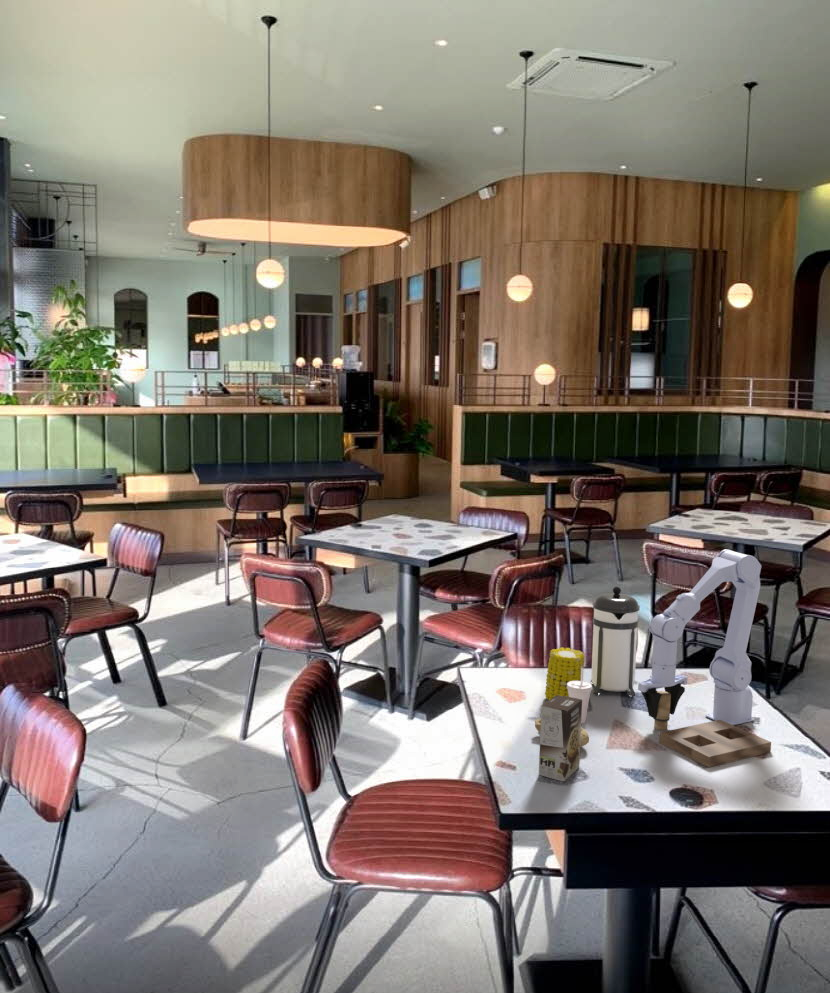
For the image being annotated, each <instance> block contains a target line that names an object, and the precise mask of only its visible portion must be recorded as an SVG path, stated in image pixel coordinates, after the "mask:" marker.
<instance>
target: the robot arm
mask: <svg viewBox="0 0 830 993" xmlns="http://www.w3.org/2000/svg"><path fill="white" fill-rule="evenodd" d="M761 569H762V564H761V562H759V560H758V559H757V558H756V557H755V556H753V555H750V554H745V553H741V552H737V551H734V550H731V549H729V548H727V549H726V548H725V549H722V550H721V551H719V552H718V554H717V556H715V557H714V558H713V559H712V563H711V566H710V567H709V569H708V570H707V571H706V572H705V573H704V575H703V576H702V577H701V578H700V579H699V581H698V582H697V583H696V585H695V586H694V587H692V589H691V590H690V591H689V592H683V593H681V594H678V595H676V598H675V600H674V601H673V602H672V603H671V604H670V605H669V607H667V608H666V609H665V610H664V611H663V613H660V614H656V615H655V616H654V617H653V618H652V620H650V621H651V622H650V624H648V629H649V632H650V633H651V634H652V641H653V644H652V660H651V661H652V664H651V675H649V678H647V679H645V680H643V681H640V682H638V685H637V686H638V687H637V690H638V691H640V693H641V694H642V696H643V698H644V701H645V704H646V708H647V714H648V717H651V718H652V719H653V718H656V717H657V713H658V704H659V700H660V698H661V696H662V694H660V693H658V692H657V691H658V690H657V689H664V691H665V692H668V693H670V694H671V700H670V715H674V714H675V712H676V709H677V706H678V703H679V701H680V699H681V697H682V696H683V694H684V693H685V692H686V691H685V690H686V688H685V687H684V686H685V685H688V679H689V678H688V676H686V675H683V674H679V675H677V674H676V668H677V650H678V649H677V648H678V640H679V639H680V638H682V636H683V633H684V628H686V624H687V623H688V622H689V621H691V620H692V618H693V617H695V615H696V614H697V613H698V612H699V611H700V609H701V602H702V601H703V600H705V598H706V597H708V596H709V595H710V594H711V593H712V592H713V591H714V590H715V589H717V588H718V587H720V585H721V584H722V583H726V582H731V583H732V584H733V585H734V588H736V589H735V594H734V598H733V599H734V600H733V604H732V609H731V612H730V617H729V622H728V626H727V630H726V634H725V640H724V645H723V647H721V648H720V649H718V650H716V652H715V654H714V657H713V659H712V661H711V662H710V665H709V674H710V677H711V678H713V681H712V682H713V684H714V693H713V710H712V712H711V713H706V714H705V717H706V718H708V719H711V721H716V720H722V721H724V722H727V723H729V724H731V725H733V726H737V725H740V724H745V723H748V722H753V721H755V718H753V717H752V714H753V713H752V710H753V700H754V699H753V698H754V696H753V692H752V690H751V688H750V687H749V685H750V684H751V681H752V661H751V660H750V658H749V656H748V654H747V648H748V643H749V639H750V635H751V631H752V625H753V621H754V616H755V612H756V607H757V605H758V604H757V603H758V598H759V596H760V595H759V594H760V591H761V579H760V575H761V571H762V570H761ZM683 685H684V686H683Z"/></svg>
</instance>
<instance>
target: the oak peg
mask: <svg viewBox="0 0 830 993" xmlns="http://www.w3.org/2000/svg"><path fill="white" fill-rule="evenodd" d="M656 691H657V692H658V693H660V694H662V696H661V698H660V700H659V704H658V713H657V717H656V718H652V719H653V720H654V721H653V722H654V729H655V730H657V731H668V722H669V721H670V717H671V716H670V715H671V714H670V700H671V694H670V693H668V692H665V690H656Z"/></svg>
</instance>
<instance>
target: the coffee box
mask: <svg viewBox="0 0 830 993" xmlns="http://www.w3.org/2000/svg"><path fill="white" fill-rule="evenodd" d="M540 707H541V709H540V711H541V712H540V719H541V729H540V732H539V756H538V757H539V758H538V776H542V777H545V778H548V779H553V780H556V781H559V782H565V781H566V780H568V779H569V778H570V777H571V776H572V775H573V774H574V773H575V772H576V771H577V770H578V769H579V768H580V761H581V759H580V757H581V747H580V738H581V727H582V723H581V714H582V700H581V699H577V698H572V697H566V696H560V695H556V696H555V697H553V698H552V699H550V700H549V699H548V700H547V701H546V702H544V703H543V704H541V706H540Z"/></svg>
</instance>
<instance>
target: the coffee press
mask: <svg viewBox="0 0 830 993" xmlns="http://www.w3.org/2000/svg"><path fill="white" fill-rule="evenodd" d="M612 592H613V593H603V594H601V595H598V596H597V597H596V599H595V600H594V602H592V607H593V616H592V623H593V628H592V629H593V631H592V654H591V675H590V676H591V679H590V683H591V682H592V683H593V684H594V685H593V686H594V689H593V695H594V694H597V695H598V693H600V695H602V692H603V691H608V692H624V693H626V694H627V696H628V697H629V695H632V697H631V698H634V697H635V696H636V692H635V690H634V688H633V687H634V685H635V681H636V680H635V679H636V664H637V662H636V660H637V643H638V642H637V638H638V627H639V620H640V619H639V611H640V609H641V607H640V605H639V602H638V601H637V599H635V598H634V597H633V596H631V595H628V594H624V593H621V592H622V590H621V588H620V587H619V586H614V587H613V588H612ZM597 695H596V696H597ZM633 696H634V697H633Z"/></svg>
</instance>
